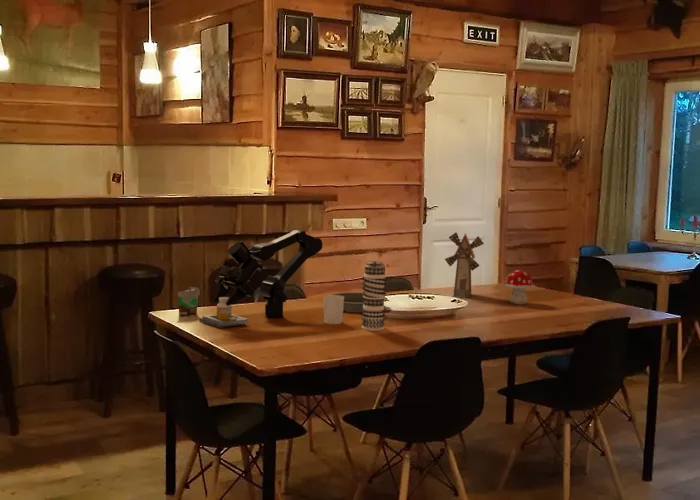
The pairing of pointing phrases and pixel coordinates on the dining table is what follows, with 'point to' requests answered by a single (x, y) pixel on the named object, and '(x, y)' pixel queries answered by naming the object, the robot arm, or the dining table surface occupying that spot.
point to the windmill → (463, 264)
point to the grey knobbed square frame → (223, 321)
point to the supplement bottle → (223, 309)
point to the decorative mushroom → (518, 286)
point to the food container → (188, 301)
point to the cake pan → (353, 301)
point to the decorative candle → (373, 295)
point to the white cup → (333, 309)
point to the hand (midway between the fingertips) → (220, 303)
